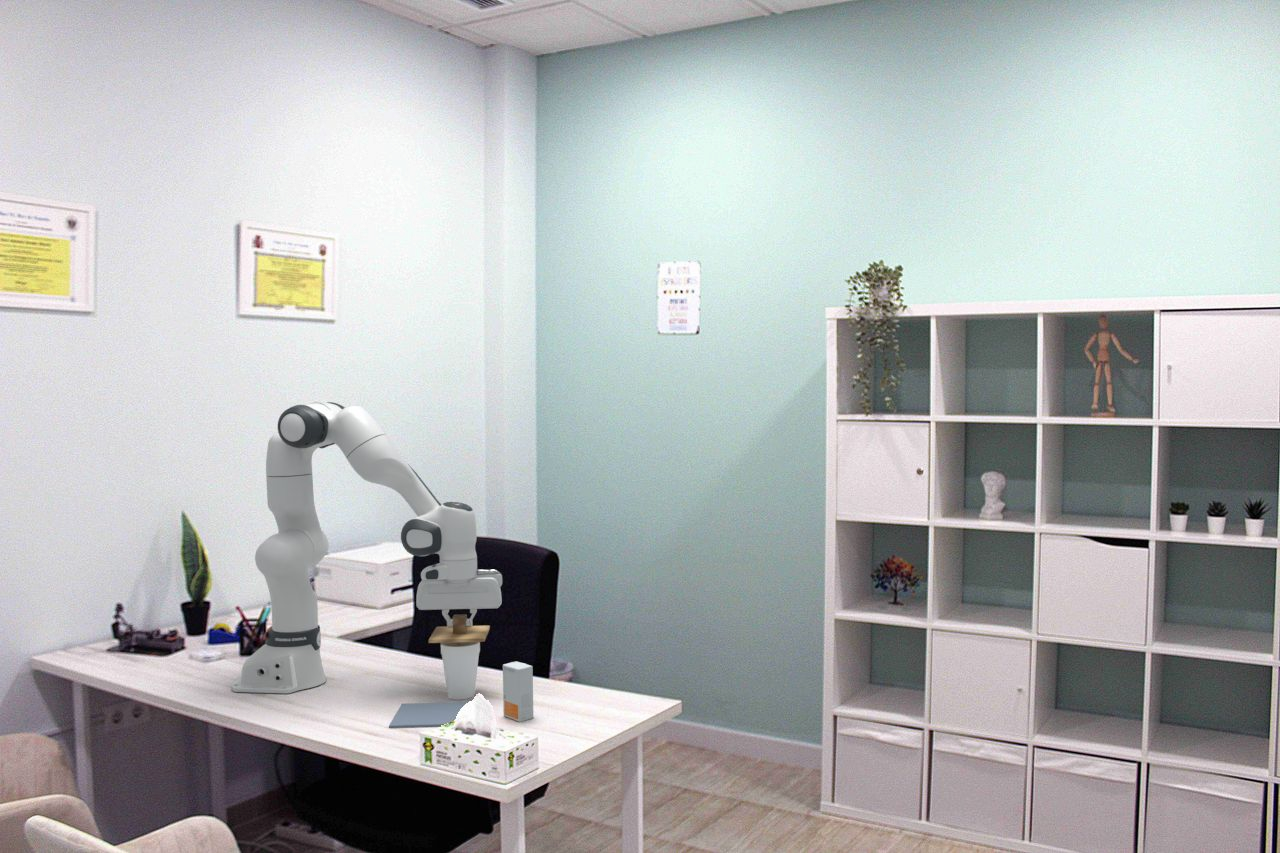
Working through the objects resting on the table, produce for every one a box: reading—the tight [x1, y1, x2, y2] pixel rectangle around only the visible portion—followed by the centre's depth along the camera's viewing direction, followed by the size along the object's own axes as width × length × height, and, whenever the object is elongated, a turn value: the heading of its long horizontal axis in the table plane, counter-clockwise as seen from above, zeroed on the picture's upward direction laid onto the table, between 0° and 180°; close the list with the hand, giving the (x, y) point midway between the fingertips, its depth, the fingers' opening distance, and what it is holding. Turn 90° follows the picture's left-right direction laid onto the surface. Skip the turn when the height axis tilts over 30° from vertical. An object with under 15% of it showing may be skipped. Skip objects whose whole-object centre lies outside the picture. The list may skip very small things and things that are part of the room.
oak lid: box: [428, 613, 491, 644], centre depth 258 cm, size 13×13×5 cm
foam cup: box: [440, 642, 481, 700], centre depth 259 cm, size 10×9×13 cm
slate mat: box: [388, 701, 469, 729], centre depth 244 cm, size 18×16×1 cm
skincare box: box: [502, 661, 534, 723], centre depth 241 cm, size 6×4×12 cm
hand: (459, 627), depth 258 cm, fingers closed on oak lid, 3 cm apart
